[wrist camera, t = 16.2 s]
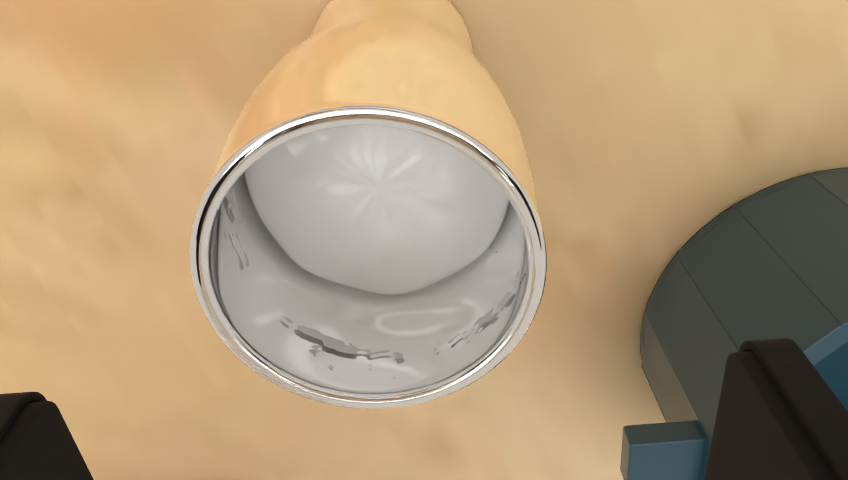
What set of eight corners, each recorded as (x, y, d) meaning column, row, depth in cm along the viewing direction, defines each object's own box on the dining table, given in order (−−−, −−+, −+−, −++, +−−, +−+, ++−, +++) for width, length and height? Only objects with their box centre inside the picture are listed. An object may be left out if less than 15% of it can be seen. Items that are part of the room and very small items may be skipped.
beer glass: (346, 171, 28) (287, 455, 15) (264, 6, 24) (95, 183, 11) (508, 109, 26) (601, 359, 13) (445, -72, 23) (486, 26, 10)
